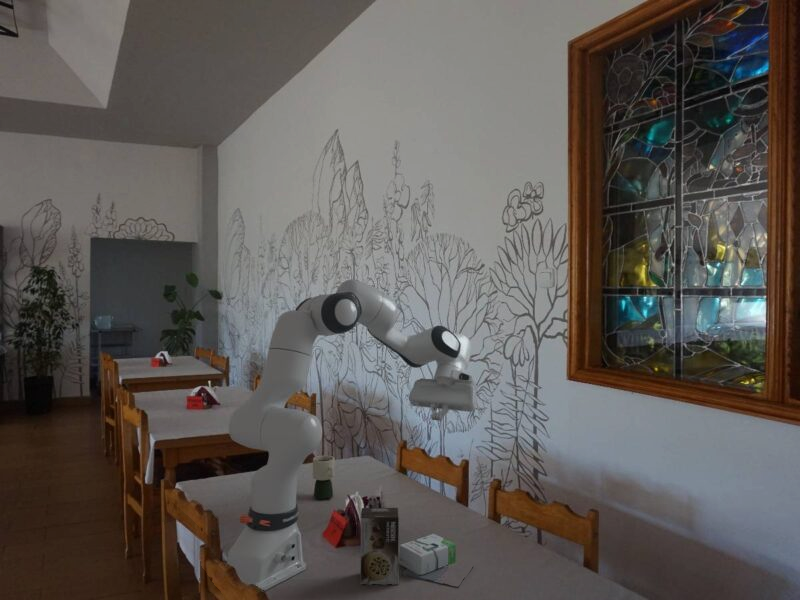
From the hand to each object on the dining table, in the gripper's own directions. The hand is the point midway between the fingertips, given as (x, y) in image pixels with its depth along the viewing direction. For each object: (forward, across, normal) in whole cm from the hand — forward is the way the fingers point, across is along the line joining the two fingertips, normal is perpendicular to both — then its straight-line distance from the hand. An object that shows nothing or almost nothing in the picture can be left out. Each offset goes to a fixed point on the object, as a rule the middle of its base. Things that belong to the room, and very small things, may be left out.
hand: (436, 419), depth 180 cm
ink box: (+33, +10, +7) cm, 35 cm away
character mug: (+18, -41, +27) cm, 52 cm away
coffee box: (+47, 0, -3) cm, 47 cm away
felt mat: (+40, +11, +4) cm, 42 cm away
